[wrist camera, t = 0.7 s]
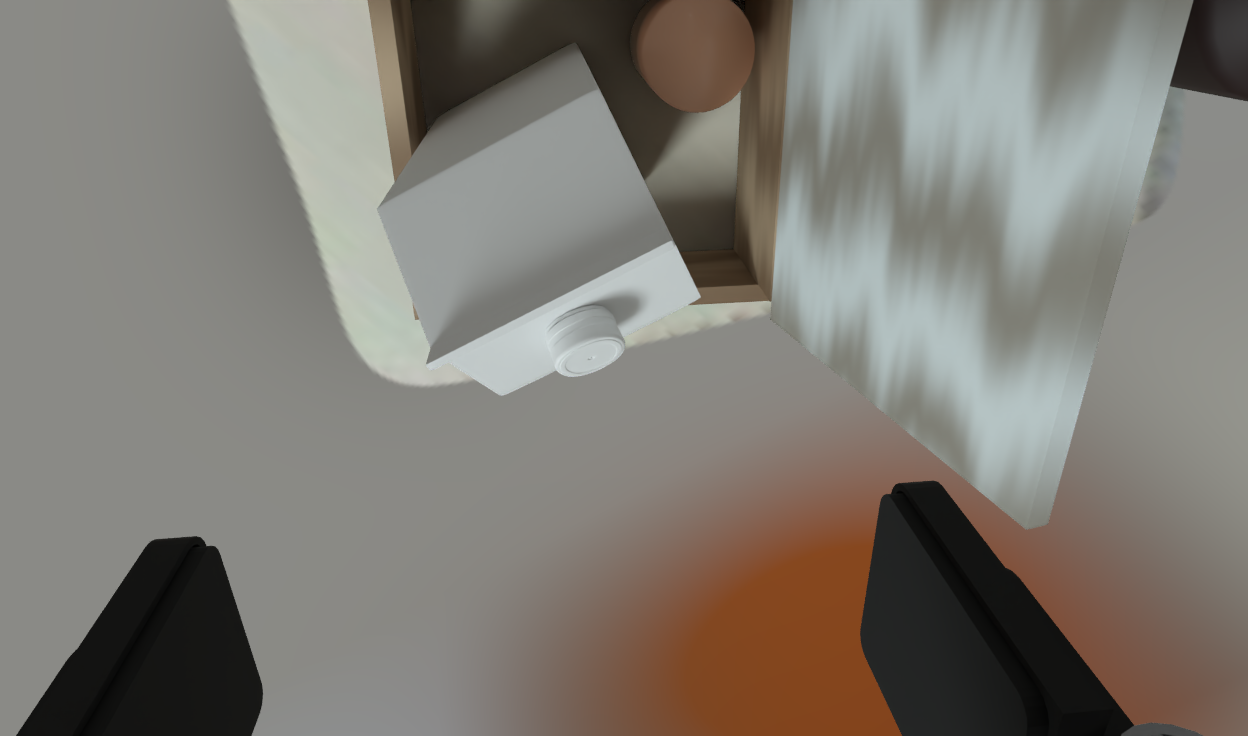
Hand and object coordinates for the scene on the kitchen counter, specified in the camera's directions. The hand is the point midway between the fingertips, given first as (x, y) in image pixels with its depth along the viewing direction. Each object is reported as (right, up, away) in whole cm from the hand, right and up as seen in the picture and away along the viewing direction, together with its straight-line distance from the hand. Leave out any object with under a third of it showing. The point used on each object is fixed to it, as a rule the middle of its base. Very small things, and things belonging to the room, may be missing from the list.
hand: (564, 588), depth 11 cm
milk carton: (-3, +13, +26) cm, 29 cm away
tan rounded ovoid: (+3, +18, +24) cm, 30 cm away
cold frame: (+1, +14, +25) cm, 29 cm away
